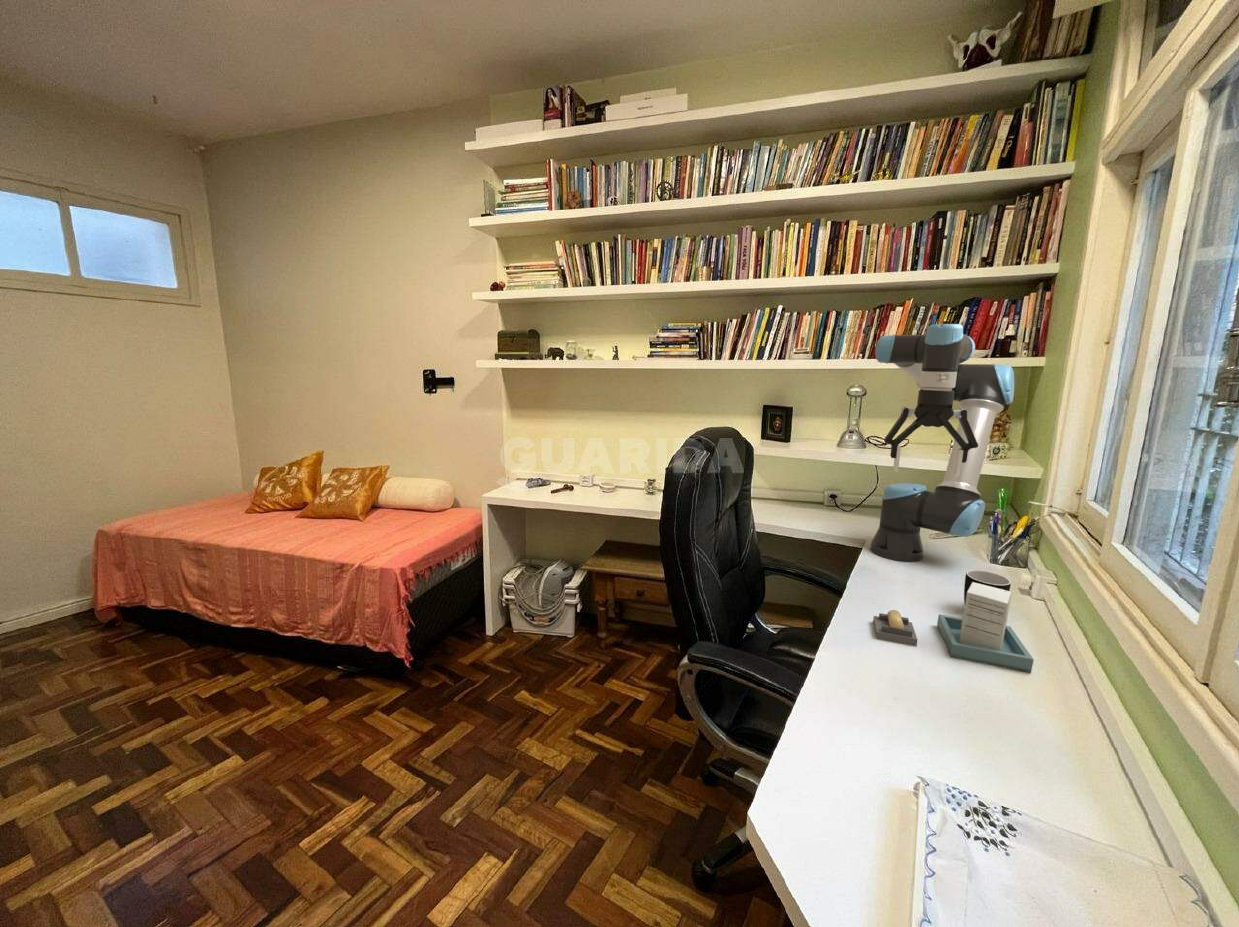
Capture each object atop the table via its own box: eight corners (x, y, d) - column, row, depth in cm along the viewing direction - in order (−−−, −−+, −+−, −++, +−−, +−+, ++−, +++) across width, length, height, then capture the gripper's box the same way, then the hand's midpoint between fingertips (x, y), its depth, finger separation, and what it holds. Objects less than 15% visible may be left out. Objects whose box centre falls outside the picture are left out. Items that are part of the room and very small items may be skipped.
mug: (1001, 628, 119) (1009, 588, 117) (956, 615, 125) (963, 577, 123) (1007, 610, 128) (1014, 573, 126) (965, 599, 133) (971, 563, 131)
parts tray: (936, 625, 120) (938, 614, 119) (1008, 638, 115) (1010, 626, 114) (950, 657, 107) (952, 644, 106) (1031, 672, 102) (1033, 659, 101)
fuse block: (873, 621, 121) (875, 604, 120) (910, 628, 118) (913, 611, 117) (876, 638, 114) (878, 620, 113) (916, 646, 111) (919, 627, 110)
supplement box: (963, 632, 116) (972, 581, 113) (1003, 644, 111) (1013, 591, 108) (957, 644, 110) (965, 591, 108) (998, 658, 106) (1008, 603, 103)
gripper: (882, 388, 125) (873, 472, 129) (1002, 391, 116) (988, 480, 121) (878, 386, 132) (869, 465, 136) (991, 389, 123) (978, 473, 128)
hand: (925, 472), depth 129 cm, fingers open, 13 cm apart
